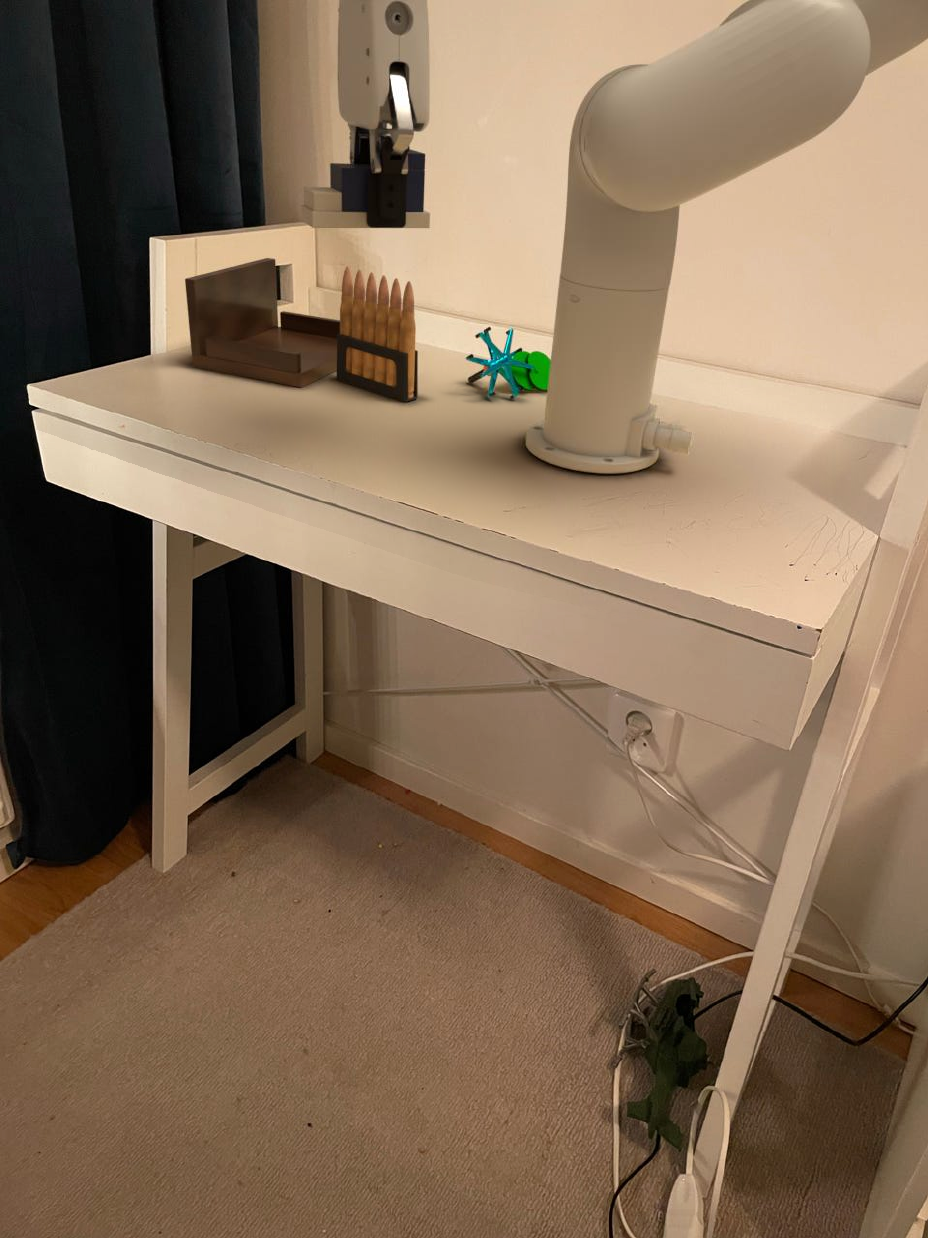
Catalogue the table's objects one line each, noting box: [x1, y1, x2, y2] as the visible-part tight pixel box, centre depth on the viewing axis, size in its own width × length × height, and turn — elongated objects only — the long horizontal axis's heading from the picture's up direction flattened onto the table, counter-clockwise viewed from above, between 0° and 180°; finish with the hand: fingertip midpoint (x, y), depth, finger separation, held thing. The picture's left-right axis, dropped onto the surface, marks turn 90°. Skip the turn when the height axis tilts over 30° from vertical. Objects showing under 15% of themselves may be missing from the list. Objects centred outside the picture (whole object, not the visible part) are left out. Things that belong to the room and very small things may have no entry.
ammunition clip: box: [335, 266, 419, 403], centre depth 98 cm, size 11×2×12 cm, turn 50°
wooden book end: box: [184, 257, 340, 388], centre depth 106 cm, size 16×14×10 cm
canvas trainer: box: [300, 148, 431, 229], centre depth 76 cm, size 10×4×6 cm, turn 112°
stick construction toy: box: [465, 326, 551, 400], centre depth 104 cm, size 12×7×8 cm
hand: (377, 220), depth 78 cm, fingers closed on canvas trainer, 4 cm apart
